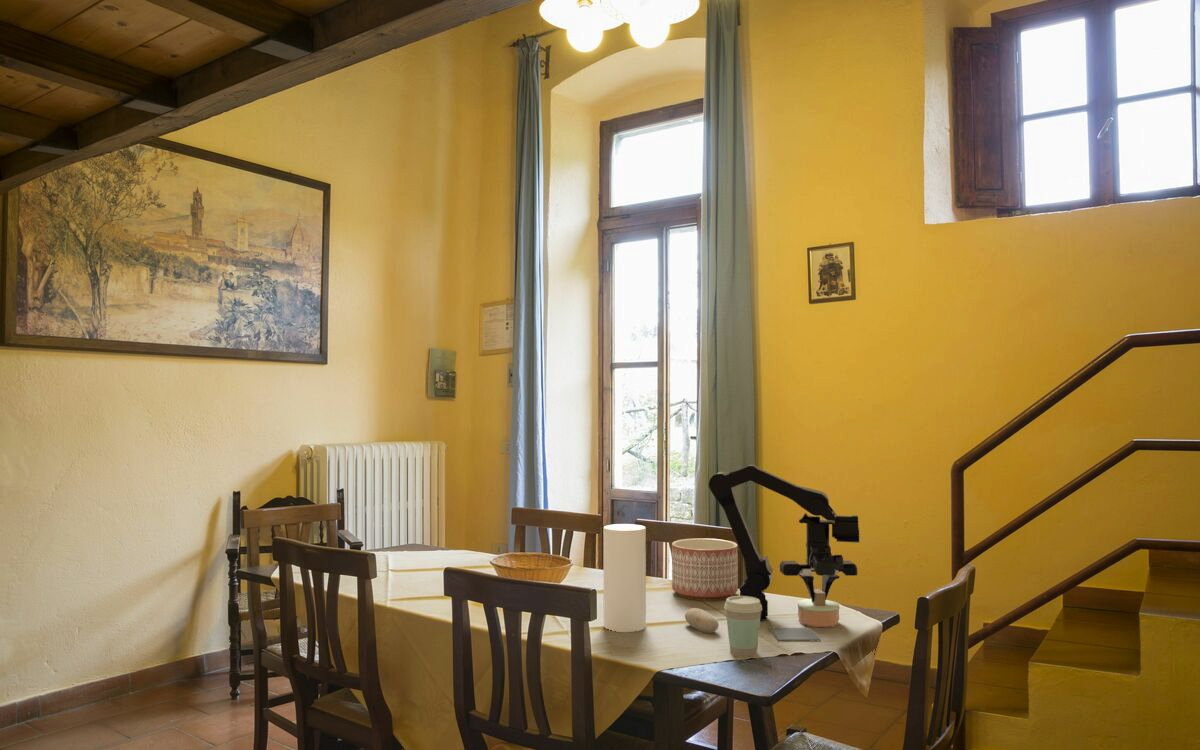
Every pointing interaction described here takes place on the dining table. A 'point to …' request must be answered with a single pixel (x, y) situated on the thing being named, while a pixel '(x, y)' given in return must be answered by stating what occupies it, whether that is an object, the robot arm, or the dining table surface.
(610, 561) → the tall pillar cylinder
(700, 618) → the stone
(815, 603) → the lid
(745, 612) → the coffee cup
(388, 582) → the dining table surface
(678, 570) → the planter
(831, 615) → the bowl
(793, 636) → the mat
